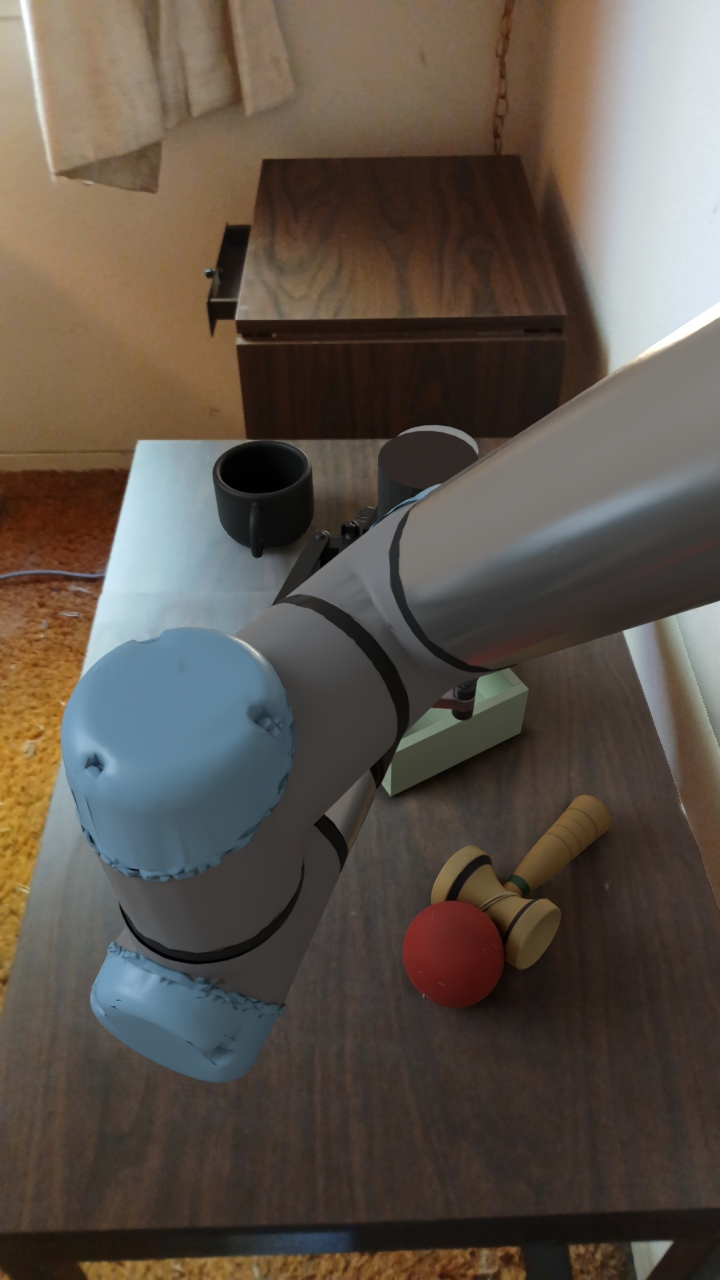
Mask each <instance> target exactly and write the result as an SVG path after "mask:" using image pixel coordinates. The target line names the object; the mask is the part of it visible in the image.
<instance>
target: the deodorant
mask: <svg viewBox="0 0 720 1280" xmlns="http://www.w3.org/2000/svg"><path fill="white" fill-rule="evenodd" d="M398 435H399V436H398ZM398 435H397V436H394V437H393V438H391V439H389V440H388V441H386V443H385V444H384V445H383V446H382V447H381V448H380V450H379V453H378V455H377V505H378V520H379V519H380V518H381V517H383V516H384V515H386V514H387V513H388V512H390V511H391V510H392V509H393V508H395V507H396V506H398V505H399V504H401V503H402V502H404V501H406V500H408V499H410V498H413V497H415V496H416V495H418V494H419V493H421V492H422V491H424V490H426V489H427V488H430V487H432V486H434V485H438V484H442V483H444V482H446V481H447V480H449V479H450V478H452V477H453V476H455V475H456V474H458V473H459V472H461V471H462V470H464V469H465V468H467V467H469V466H470V465H472V464H473V463H475V462H476V461H478V460H479V455H478V456H477V453H476V451H475V450H474V448H473V447H472V446H471V445H470V444H468V443H467V442H466V441H465V440H463V439H461V438H459V437H457V436H455V435H451V434H448V433H444V432H437V431H415V432H409V433H405V434H402V435H400V434H398Z"/></svg>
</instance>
